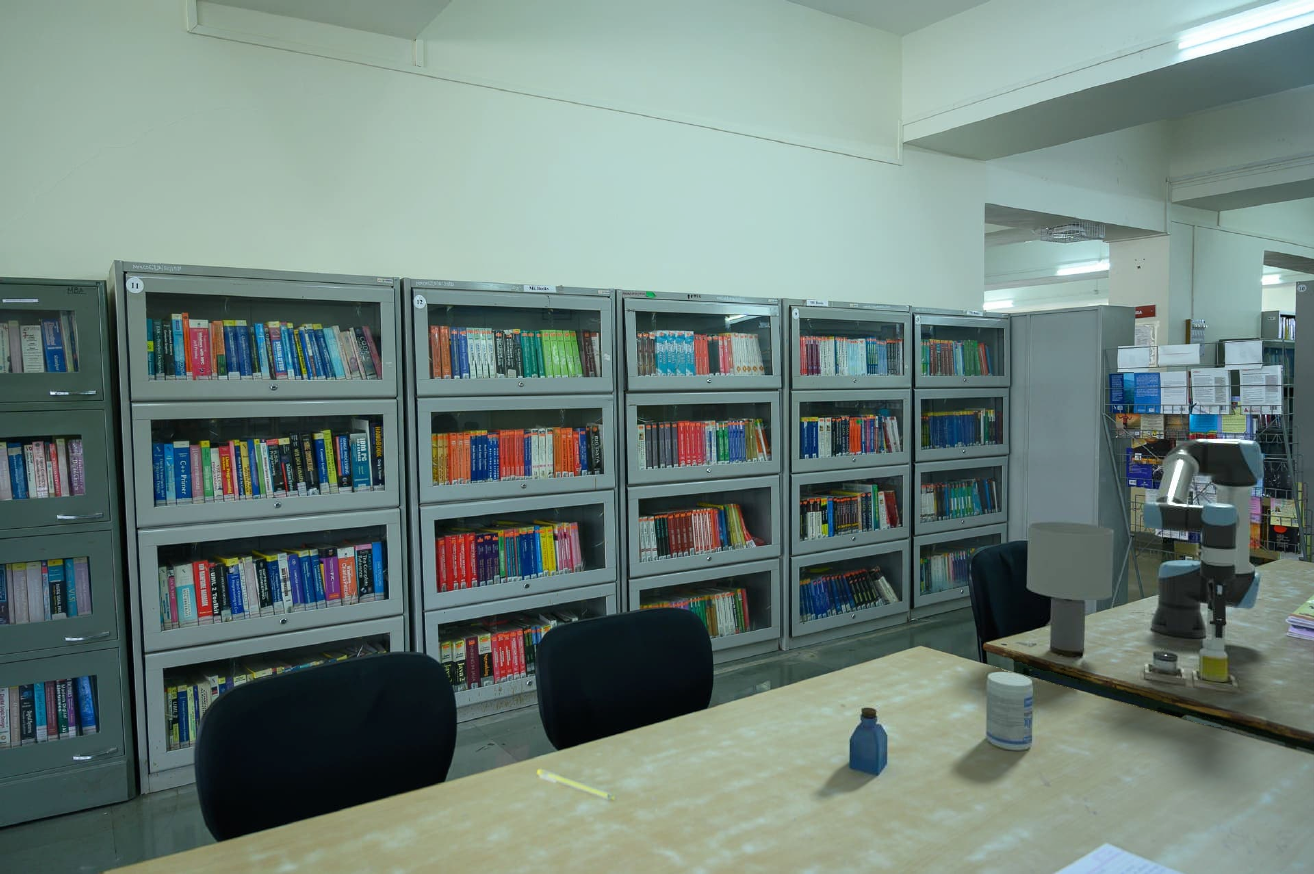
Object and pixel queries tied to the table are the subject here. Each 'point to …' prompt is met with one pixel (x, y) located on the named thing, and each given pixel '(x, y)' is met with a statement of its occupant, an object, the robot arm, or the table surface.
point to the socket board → (1190, 680)
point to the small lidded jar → (1165, 663)
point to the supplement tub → (1009, 710)
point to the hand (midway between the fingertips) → (1215, 641)
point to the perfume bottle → (868, 744)
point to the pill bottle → (1213, 664)
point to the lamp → (1069, 576)
